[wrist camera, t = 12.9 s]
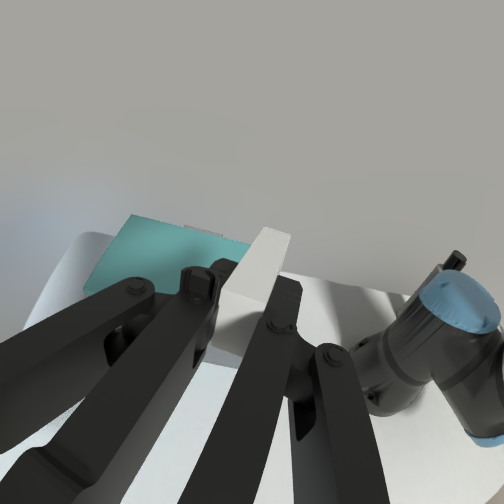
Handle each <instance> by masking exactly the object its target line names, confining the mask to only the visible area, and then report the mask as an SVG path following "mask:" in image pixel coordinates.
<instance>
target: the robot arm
mask: <svg viewBox="0 0 504 504" xmlns="http://www.w3.org/2000/svg"><path fill="white" fill-rule="evenodd" d="M290 239H291V234H287V233H284V232H281V231H278V230H275V229H272V228H268V227H264V228H263V229H262V231H261V232H260V234H259V235H258V237H257V238H256V239H255V241H254V242H253V244H252V245H251V247H250V248H249V249H248V251H247V252H246V254H245V255H244V257H243V258H242V260H241V261H240V263H238V262H235V261H232V260H229V259H226V258H221V259H218V260H216V261H214V262H213V264H212V265H211V266H210V268H206V267H201V266H190V267H186V268H184V269H182V270H181V276H180V286H179V291H178V292H177V293H176V294H165V293H159V292H155V286H154V284H153V283H152V282H151V281H150V280H148V279H146V278H143V277H129V278H126V279H123V280H121V281H119V282H117V283H115V284H113V285H111V286H109V287H107V288H105V289H103V290H101V291H99V292H97V293H95V294H93V295H91V296H89V297H87V298H85V299H83V300H81V301H79V302H77V303H75V304H73V305H71V306H69V307H67V308H65V309H63V310H62V311H60V312H58V313H56V314H54V315H52V316H50V317H48V318H46V319H44V320H42V321H41V322H39V323H37V324H35V325H33V326H31V327H29V328H28V329H26V330H24V331H22V332H20V333H18V334H17V335H15V336H13V337H11V338H9V339H7V340H6V341H4V342H2V343H0V454H3V453H5V452H6V451H8V450H10V449H12V448H13V447H15V446H16V445H18V444H19V443H21V442H22V441H24V440H25V439H26V438H28V437H29V436H31V435H32V434H34V433H35V432H37V431H38V430H39V429H41V428H42V427H44V426H45V425H47V424H48V423H49V422H51V421H52V420H54V419H55V418H57V417H58V416H59V415H61V414H62V413H64V412H65V411H66V410H68V409H69V408H71V407H72V406H74V405H75V404H76V403H78V402H79V401H81V400H82V399H83V398H85V399H84V400H83V401H82V402H81V403H80V405H79V406H78V407H77V408H76V409H75V411H74V412H73V413H72V414H71V416H70V417H69V418H68V419H67V421H66V422H65V423H64V424H63V425H62V427H61V428H60V429H59V430H58V432H57V433H56V434H55V435H54V437H53V438H52V439H51V440H50V442H49V443H48V444H47V445H45V446H43V447H32V448H30V449H28V450H26V451H25V452H24V453H23V454H22V455H21V456H20V457H19V458H18V459H17V461H16V462H15V463H14V464H13V466H12V467H11V468H10V470H9V471H8V472H7V474H6V475H5V476H4V478H3V479H2V480H1V482H0V504H120V503H121V500H122V498H123V497H124V495H125V493H126V492H127V490H128V488H129V486H130V485H131V483H132V481H133V480H134V478H135V476H136V475H137V473H138V471H139V469H140V468H141V466H142V464H143V463H144V461H145V459H146V457H147V456H148V454H149V452H150V451H151V449H152V447H153V445H154V444H155V442H156V440H157V439H158V437H159V435H160V433H161V432H162V430H163V428H164V426H165V425H166V423H167V421H168V420H169V418H170V416H171V414H172V413H173V411H174V409H175V407H176V406H177V404H178V402H179V400H180V399H181V397H182V395H183V393H184V392H185V390H186V388H187V386H188V385H189V383H190V381H191V379H192V378H193V376H194V374H195V372H196V371H197V369H198V367H199V365H200V364H201V362H202V360H203V358H204V356H205V354H206V350H207V345H208V343H209V342H210V340H211V338H212V340H211V346H213V347H216V348H218V349H221V350H224V351H226V352H229V353H232V354H235V355H237V356H240V357H243V359H242V362H241V364H240V366H239V369H238V371H237V374H236V376H235V378H234V381H233V383H232V385H231V388H230V390H229V392H228V395H227V397H226V399H225V401H224V404H223V406H222V408H221V411H220V413H219V415H218V417H217V420H216V422H215V424H214V426H213V429H212V431H211V433H210V435H209V437H208V440H207V442H206V444H205V446H204V448H203V451H202V453H201V455H200V457H199V459H198V461H197V464H196V466H195V468H194V470H193V472H192V474H191V476H190V478H189V480H188V482H187V485H186V487H185V489H184V491H183V493H182V495H181V497H180V499H179V501H178V503H177V504H253V503H254V500H255V497H256V494H257V490H258V487H259V484H260V481H261V478H262V474H263V471H264V468H265V464H266V461H267V457H268V454H269V450H270V447H271V443H272V439H273V436H274V432H275V428H276V424H277V420H278V417H279V413H280V409H281V405H282V400H283V396H285V397H287V398H288V412H289V426H290V440H291V456H292V473H293V492H294V504H390V501H389V496H388V491H387V486H386V482H385V477H384V472H383V468H382V464H381V459H380V455H379V451H378V447H377V443H376V439H375V435H374V431H373V427H372V424H371V420H370V416H369V414H372V415H374V416H379V417H387V416H391V415H394V414H396V413H398V412H400V411H402V410H403V409H405V408H406V407H407V406H408V405H409V404H410V403H411V402H412V401H413V399H414V398H415V397H416V396H417V395H418V393H419V392H420V391H421V389H422V388H423V387H424V385H425V384H427V383H428V382H430V381H431V380H434V382H435V383H436V384H437V386H438V387H439V389H440V390H441V392H442V394H443V395H444V397H445V398H446V400H447V401H448V403H449V405H450V406H451V408H452V410H453V411H454V413H455V414H456V416H457V418H458V419H459V421H460V423H461V425H462V426H463V428H464V431H465V432H466V434H467V435H468V436H469V437H471V439H472V440H473V441H474V443H475V444H476V445H478V446H480V447H486V448H489V447H495V446H499V445H501V444H504V336H503V335H502V333H501V332H500V331H499V329H498V328H497V327H498V326H499V323H500V319H501V314H500V311H499V308H498V306H497V305H496V303H495V302H494V299H493V298H492V296H491V295H490V294H489V293H488V292H487V291H486V290H485V288H484V287H483V286H482V285H480V284H479V283H478V282H477V281H475V280H474V279H473V278H471V277H470V276H468V275H466V274H464V273H462V272H460V271H456V270H444V271H441V272H440V273H438V274H437V275H436V276H435V277H434V278H433V279H432V280H431V282H430V283H429V284H428V285H427V286H425V287H423V288H422V289H421V291H420V293H419V295H418V296H417V297H416V298H415V300H414V301H413V302H412V303H411V304H410V305H409V306H408V307H407V308H406V310H405V311H404V312H403V313H402V314H401V315H400V316H399V317H398V318H397V319H396V320H395V321H394V322H393V323H392V324H391V325H390V326H389V327H388V328H387V329H386V330H384V331H381V332H379V333H377V334H374V335H372V336H370V337H367V338H365V339H363V340H361V341H360V342H359V343H358V344H356V345H355V346H354V347H353V348H352V349H351V350H350V352H349V353H348V352H347V351H346V350H345V349H344V348H342V347H341V346H339V345H336V344H332V343H323V344H321V345H319V346H318V347H317V348H316V347H315V346H313V345H311V344H309V343H308V342H306V341H305V340H304V339H303V338H302V337H301V336H300V335H299V333H298V332H297V326H296V323H297V318H298V312H299V307H300V302H301V296H302V291H303V289H302V286H301V284H300V282H298V281H295V280H292V279H289V278H286V277H283V276H280V275H279V273H280V270H281V267H282V264H283V261H284V258H285V254H286V251H287V248H288V245H289V241H290ZM120 326H121V327H120ZM118 327H120V328H118ZM117 328H118V329H117Z"/></svg>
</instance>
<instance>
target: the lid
mask: <svg viewBox="0 0 504 504" xmlns="http://www.w3.org/2000/svg"><path fill="white" fill-rule="evenodd" d="M250 247H251V245H250V244H246V243H243V242H239V241H235V240H231V239H227V238H223V235H222V234H218V233H214V232H210V231H206V230H202V229H198V228H194V227H191V226H186V225H185V226H184V227H180V226H176V225H172V224H168V223H164V222H160V221H156V220H152V219H148V218H144V217H140V216H136V215H131V216H130V217H129V219H128V220H127V221H126V223H125V224H124V226H123V227H122V228H121V230H120V231H119V233H118V234H117V236H116V237H115V239H114V240H113V242H112V243H111V245H110V246H109V248H108V249H107V251H106V252H105V254H104V255H103V257H102V258H101V260H100V261H99V263H98V265H97V266H96V268H95V269H94V271H93V273H92V274H91V276H90V278H89V279H88V281H87V283H86V284H85V286H84V288H83V290H84V293H85V294H87V295H89V296H91V295H93V294H95V293H97V292H99V291H101V290H103V289H105V288H107V287H109V286H111V285H113V284H115V283H117V282H119V281H121V280H123V279H126V278H129V277H143V278H146V279H148V280H150V281H151V282H152V283H153V284H154V286H155V292H159V293H165V294H176V293H177V292H178V291H179V286H180V276H181V270H182V269H184V268H186V267H190V266H201V267H206V268H210V266H211V265H212V264H213V262H214V261H216V260H218V259H221V258H226V259H229V260H232V261H235V262H238V263H240V261H241V260H242V258H243V257H244V255H245V254H246V252H247V251H248V249H249V248H250Z"/></svg>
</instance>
